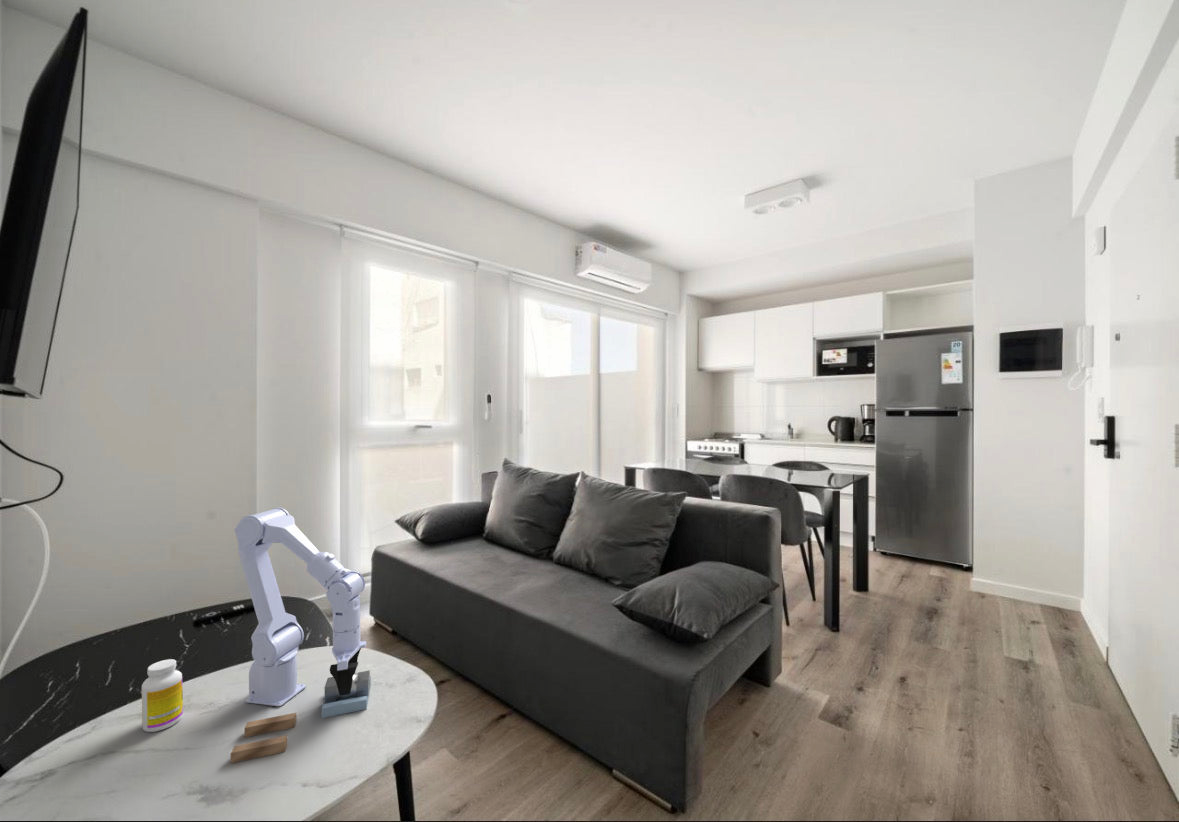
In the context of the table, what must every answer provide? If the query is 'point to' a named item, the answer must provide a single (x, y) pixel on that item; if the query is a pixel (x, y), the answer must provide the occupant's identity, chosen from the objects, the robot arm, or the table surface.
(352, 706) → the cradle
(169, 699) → the supplement bottle
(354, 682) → the silver boxy piece
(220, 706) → the table surface
